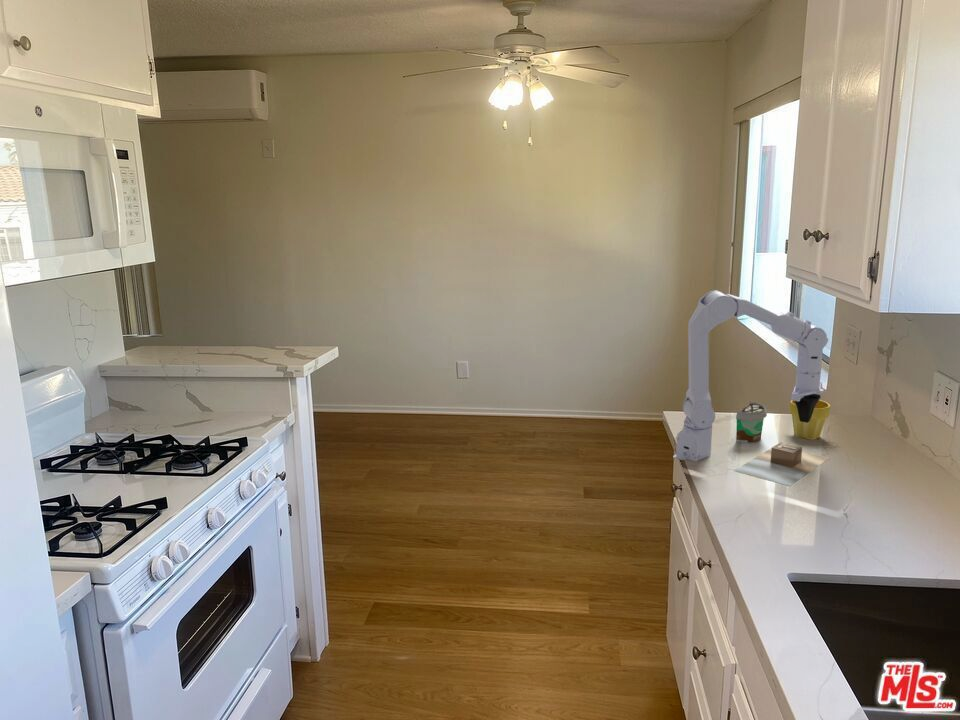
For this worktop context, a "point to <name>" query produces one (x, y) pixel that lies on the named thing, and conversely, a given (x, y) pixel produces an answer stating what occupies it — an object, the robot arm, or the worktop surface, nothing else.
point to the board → (780, 468)
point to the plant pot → (815, 423)
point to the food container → (750, 423)
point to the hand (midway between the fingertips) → (804, 421)
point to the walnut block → (786, 454)
